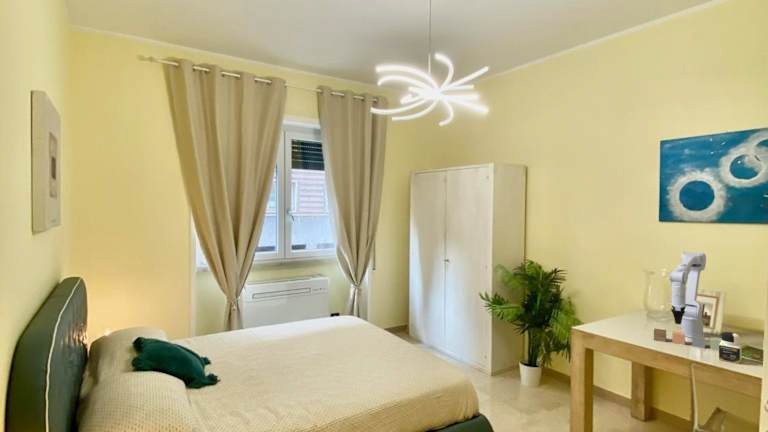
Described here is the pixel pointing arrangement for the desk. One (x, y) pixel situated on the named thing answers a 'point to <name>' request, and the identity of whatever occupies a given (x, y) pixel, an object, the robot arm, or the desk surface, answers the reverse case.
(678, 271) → the robot arm
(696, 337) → the slate cube
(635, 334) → the desk surface
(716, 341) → the sage cube
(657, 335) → the walnut cube
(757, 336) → the desk surface
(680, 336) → the terracotta cube
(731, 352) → the medicine bottle
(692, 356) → the desk surface
